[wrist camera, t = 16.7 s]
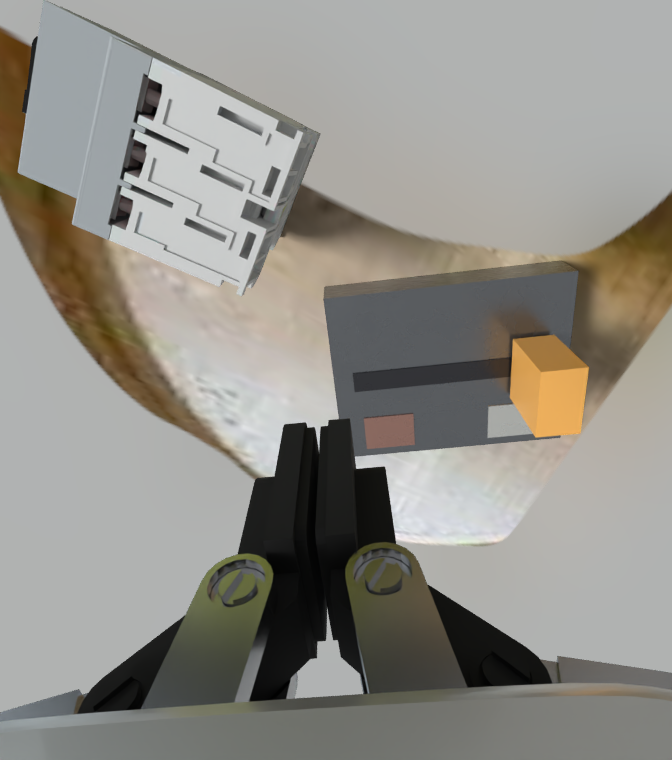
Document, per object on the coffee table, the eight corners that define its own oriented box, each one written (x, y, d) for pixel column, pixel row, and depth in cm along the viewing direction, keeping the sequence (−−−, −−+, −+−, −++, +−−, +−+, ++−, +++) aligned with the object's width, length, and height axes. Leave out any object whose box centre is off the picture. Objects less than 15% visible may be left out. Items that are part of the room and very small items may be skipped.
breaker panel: (561, 260, 37) (579, 271, 34) (546, 418, 43) (560, 438, 41) (324, 286, 38) (323, 299, 35) (343, 437, 44) (344, 458, 42)
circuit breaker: (110, 27, 31) (-64, -52, 17) (320, 133, 33) (309, 135, 20) (86, 148, 34) (-78, 161, 20) (280, 236, 36) (246, 298, 23)
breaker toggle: (554, 334, 36) (588, 367, 31) (548, 394, 39) (580, 433, 34) (512, 338, 36) (541, 372, 31) (509, 397, 39) (535, 437, 34)
